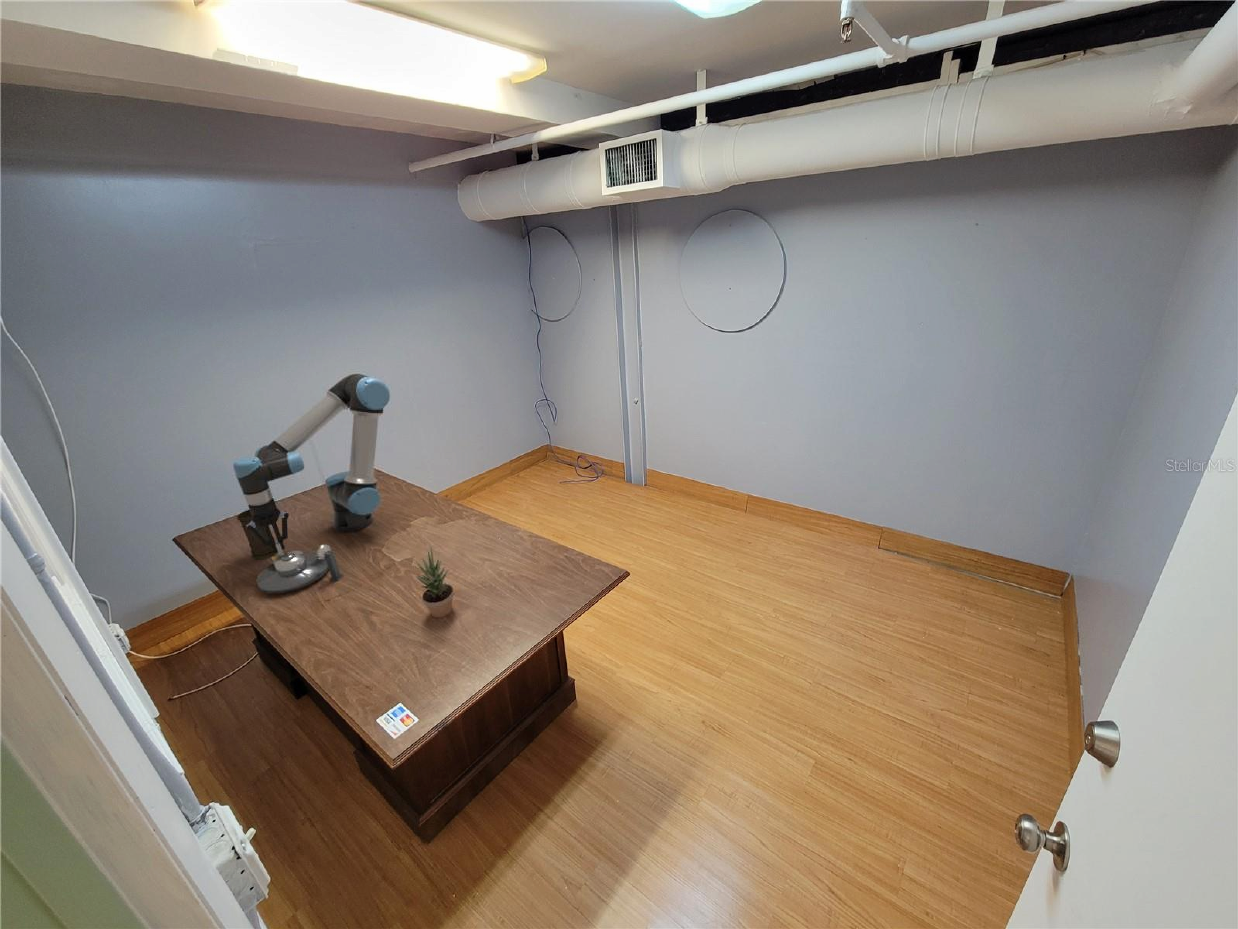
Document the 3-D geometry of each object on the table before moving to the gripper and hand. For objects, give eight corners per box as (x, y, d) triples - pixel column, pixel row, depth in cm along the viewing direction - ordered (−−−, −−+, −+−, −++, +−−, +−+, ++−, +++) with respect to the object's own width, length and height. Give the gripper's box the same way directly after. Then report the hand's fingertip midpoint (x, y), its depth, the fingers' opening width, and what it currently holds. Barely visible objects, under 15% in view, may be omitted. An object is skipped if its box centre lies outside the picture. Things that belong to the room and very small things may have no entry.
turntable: (306, 551, 191) (302, 540, 189) (342, 565, 181) (339, 553, 179) (245, 583, 173) (240, 571, 171) (282, 600, 164) (277, 588, 162)
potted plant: (439, 625, 151) (423, 557, 141) (419, 615, 156) (402, 549, 146) (464, 606, 159) (451, 541, 149) (445, 597, 164) (430, 533, 154)
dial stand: (344, 574, 178) (334, 542, 173) (336, 582, 174) (325, 550, 168) (334, 573, 179) (324, 541, 173) (325, 582, 174) (314, 549, 169)
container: (266, 560, 188) (250, 519, 181) (246, 558, 190) (230, 518, 183) (285, 547, 196) (270, 507, 189) (266, 546, 198) (251, 506, 191)
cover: (297, 560, 182) (292, 546, 179) (313, 565, 178) (308, 551, 176) (272, 574, 174) (266, 559, 172) (288, 580, 171) (283, 565, 168)
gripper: (279, 491, 178) (299, 547, 187) (236, 504, 170) (259, 561, 179) (284, 497, 173) (304, 554, 182) (240, 511, 165) (264, 570, 174)
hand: (282, 558), depth 181 cm, fingers closed
